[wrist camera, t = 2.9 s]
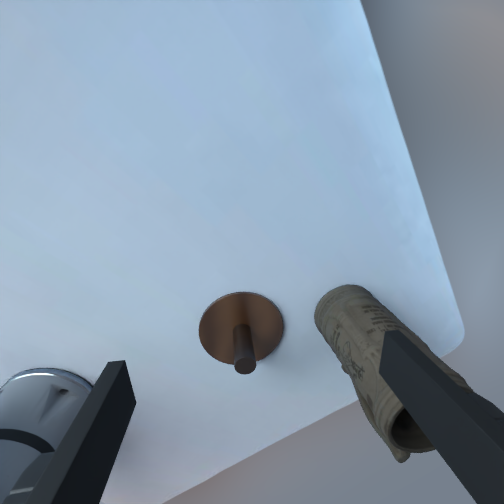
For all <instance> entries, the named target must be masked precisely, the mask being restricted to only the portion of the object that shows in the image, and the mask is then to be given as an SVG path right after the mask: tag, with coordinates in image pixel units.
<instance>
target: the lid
mask: <svg viewBox="0 0 504 504" xmlns="http://www.w3.org/2000/svg"><path fill="white" fill-rule="evenodd" d="M282 333H283V320H282V317H281V314H280V312H279V310H278V308H277V307H276V306H275V305H274V304H273V303H272V302H271V301H270V300H269V299H267V298H265V297H263V296H261V295H259V294H256V293H251V292H236V293H231V294H228V295H225V296H223V297H221V298H219V299H217V300H216V301H214V302H213V303H212V304H211V305H210V306H209V307H208V308H207V309H206V310H205V312H204V314H203V315H202V318H201V321H200V325H199V337H200V341H201V344H202V346H203V347H204V349H205V350H206V351H207V353H208V354H210V355H211V356H212V357H213V358H215V359H217V360H218V361H221V362H223V363H227V364H232V365H234V367H235V370H236V371H237V372H238V373H240V374H249V373H251V372H253V371H254V370H255V368H256V361H259V360H261V359H263V358H265V357H266V356H268V355H269V354H270V353H271V352H272V351H273V350H274V349H275V348H276V346H277V345H278V343H279V342H280V340H281V337H282Z"/></svg>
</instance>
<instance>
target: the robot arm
mask: <svg viewBox="0 0 504 504" xmlns="http://www.w3.org/2000/svg"><path fill="white" fill-rule="evenodd" d="M379 374H380V375H381V376H382V378H383V379H384V380H385V382H386V383H387V384H388V386H389V387H390V388H391V390H392V391H393V392H394V394H395V395H396V396H397V398H398V399H399V400H400V402H401V403H402V404H403V406H404V407H405V408H406V410H407V411H408V412H409V414H410V415H411V416H412V418H413V419H414V420H415V422H416V423H417V424H418V426H419V427H420V428H421V430H422V431H423V432H424V434H425V435H426V436H427V438H428V439H429V440H430V442H431V443H432V444H433V446H434V447H435V448H436V450H437V451H438V452H439V454H440V455H441V456H442V458H443V459H444V460H445V462H446V463H447V464H448V465H449V467H450V468H451V469H452V471H453V472H454V473H455V475H456V476H457V478H458V479H459V480H460V482H461V483H462V484H463V485H464V487H465V488H466V489H467V491H468V492H469V493H470V495H471V496H472V497H473V499H474V500H475V501H476V503H477V504H504V413H503V412H502V411H501V410H499V409H498V408H497V407H496V406H495V405H494V404H493V403H491V402H490V401H488V400H486V399H485V398H483V397H481V396H480V395H478V394H476V393H469V394H467V393H466V392H465V391H464V390H463V389H462V388H461V387H460V386H459V385H458V384H457V383H455V382H454V381H453V380H452V379H451V378H450V377H449V376H448V375H447V374H446V373H445V372H444V371H443V370H441V369H440V368H439V367H438V366H437V365H436V364H435V363H434V362H433V361H432V360H431V359H430V358H429V357H428V356H426V355H425V354H424V353H423V352H422V351H421V350H420V349H419V348H418V347H417V346H416V345H415V344H414V343H412V342H411V341H410V340H409V339H408V338H407V337H406V336H405V335H404V334H403V333H402V332H401V331H400V330H391V331H385V334H384V340H383V346H382V353H381V359H380V366H379ZM135 405H136V400H135V396H134V392H133V388H132V385H131V381H130V377H129V374H128V370H127V366H126V362H125V360H122V361H113V362H108V363H107V365H106V367H105V368H104V370H103V372H102V373H101V375H100V377H99V378H98V380H97V382H96V383H95V385H94V387H93V388H92V386H91V385H90V384H89V383H87V382H86V381H85V380H83V379H82V378H80V377H79V376H77V375H75V374H72V373H70V372H67V371H63V370H59V369H53V368H37V369H31V370H27V371H23V372H21V373H19V374H17V375H15V376H13V377H12V378H11V379H10V380H8V381H7V382H6V383H5V384H4V385H3V386H2V387H1V388H0V504H99V502H100V500H101V497H102V494H103V492H104V489H105V486H106V484H107V481H108V478H109V475H110V473H111V470H112V467H113V465H114V462H115V459H116V457H117V454H118V451H119V449H120V446H121V443H122V440H123V438H124V435H125V432H126V430H127V427H128V424H129V422H130V419H131V416H132V414H133V411H134V408H135Z"/></svg>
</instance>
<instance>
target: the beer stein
mask: <svg viewBox="0 0 504 504" xmlns="http://www.w3.org/2000/svg"><path fill="white" fill-rule="evenodd" d="M314 319H315V324H316V327H317V329H318V330H319V332H320V333H321V334H322V335H323V337H324V339H325V341H326V342H327V343H328V344H329V346H330V347H331V349H332V350H333V352H334V353H335V354H336V356H337V358H338V359H339V361H340V362H341V363H342V369H343V371H344V372H345V373H347V374H349V376H350V377H351V379H352V382H353V385H354V387H355V390H356V393H357V396H358V398H359V401H360V404H361V406H362V408H363V410H364V412H365V415H366V417H367V419H368V420H369V422H370V424H371V425H372V427H373V428H374V429H375V431H376V432H377V433H378V435H379V436H380V437H381V438H382V439H383V441H384V442H385V443H386V444H387V446H388V447H389V448H390V450H391V452H392V454H393V456H394V457H395V459H396V460H397V461H398V462H399V463H403V462H405V461H406V460H407V459H408V458H409V457H410V453H423V452H428V451H432V450H435V449H436V448H435V447H434V446H433V444H432V443H431V442H430V440H429V439H428V438H427V436H426V435H425V434H424V432H423V431H422V430H421V428H420V427H419V426H418V424H417V423H416V422H415V420H414V419H413V418H412V416H411V415H410V414H409V412H408V411H407V410H406V408H405V407H404V406H403V404H402V403H401V402H400V400H399V399H398V398H397V396H396V395H395V394H394V392H393V391H392V390H391V388H390V387H389V386H388V384H387V383H386V382H385V380H384V379H383V378H382V376H381V375H380V374H379V366H380V359H381V353H382V346H383V340H384V334H385V331H391V330H400V331H401V332H402V333H403V334H404V335H405V336H406V337H407V338H408V339H409V340H410V341H411V342H412V343H414V344H415V345H416V346H417V347H418V348H419V349H420V350H421V351H422V352H423V353H424V354H425V355H426V356H428V357H429V358H430V359H431V360H432V361H433V362H434V363H435V364H436V365H437V366H438V367H439V368H440V369H441V370H443V371H444V372H445V373H446V374H447V375H448V376H449V377H450V378H451V379H452V380H453V381H454V382H455V383H457V384H458V385H459V386H460V387H461V388H462V389H463V390H464V391H465V392H466V393H467V394H469V393H474V392H473V390H472V389H471V388H470V387H469V386H468V385H467V383H466V381H465V380H464V378H463V377H461V376H460V375H459V374H458V373H457V372H455V371H454V370H452V369H451V368H450V367H449V366H447V365H446V364H445V363H444V362H443V361H441V359H439V358H438V357H437V356H436V355H435V354H434V353H433V352H432V351H431V350H430V349H429V347H428V346H427V345H426V344H425V343H424V342H423V341H422V340H421V339H420V338H419V337H418V336H417V335H416V334H415V333H414V332H412V331H411V330H410V329H409V328H408V327H407V326H406V325H405V324H403V323H402V322H401V321H400V320H399V319H398V318H397V317H396V316H395V315H394V314H393V313H392V312H390V311H389V310H388V309H387V308H386V307H385V306H384V305H382V304H381V303H380V302H379V301H378V300H377V299H375V298H374V297H373V296H372V294H371V293H370V292H369V291H367V290H366V289H364V288H363V287H360V286H357V285H344V286H340V287H338V288H335V289H333V290H331V291H329V292H328V293H327V294H326V295H324V296H323V297H322V299H321V300H320V301H319V303H318V304H317V307H316V310H315V315H314Z"/></svg>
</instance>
